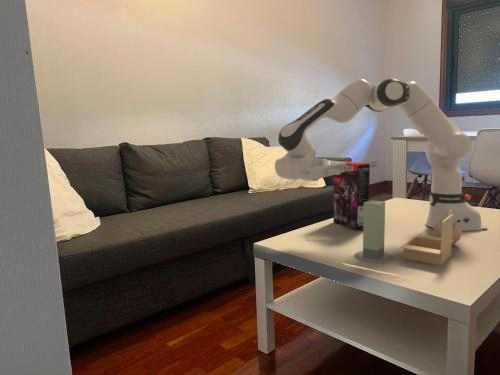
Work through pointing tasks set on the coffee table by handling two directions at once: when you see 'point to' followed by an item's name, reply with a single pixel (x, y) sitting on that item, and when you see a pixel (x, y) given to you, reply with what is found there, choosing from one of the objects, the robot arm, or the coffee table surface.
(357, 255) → the slate mat
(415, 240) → the wooden open tray
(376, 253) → the tall box
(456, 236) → the decorative fruit
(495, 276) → the coffee table surface
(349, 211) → the graphics card box
